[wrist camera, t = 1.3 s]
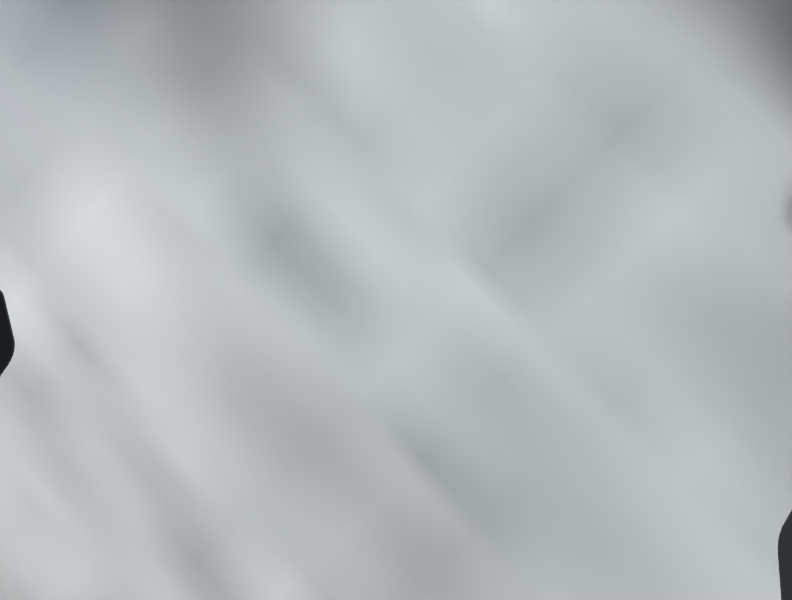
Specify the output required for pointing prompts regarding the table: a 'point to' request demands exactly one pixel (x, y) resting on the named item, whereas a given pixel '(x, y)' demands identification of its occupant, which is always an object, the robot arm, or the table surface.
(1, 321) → the robot arm
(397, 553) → the table surface
